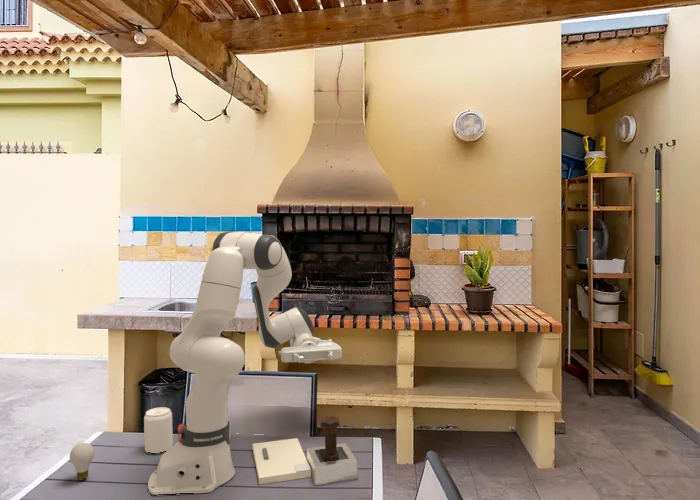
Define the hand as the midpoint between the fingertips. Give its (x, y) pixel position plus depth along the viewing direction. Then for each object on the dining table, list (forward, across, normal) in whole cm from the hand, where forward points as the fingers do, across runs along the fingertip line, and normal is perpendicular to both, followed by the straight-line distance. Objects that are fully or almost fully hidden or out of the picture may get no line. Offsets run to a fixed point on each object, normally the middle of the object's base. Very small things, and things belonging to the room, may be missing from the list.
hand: (315, 358), depth 152 cm
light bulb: (+4, -66, +28) cm, 72 cm away
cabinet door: (+10, -13, +27) cm, 32 cm away
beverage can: (-10, -48, +28) cm, 56 cm away
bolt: (+20, 0, +27) cm, 34 cm away
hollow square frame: (+20, 0, +27) cm, 33 cm away
